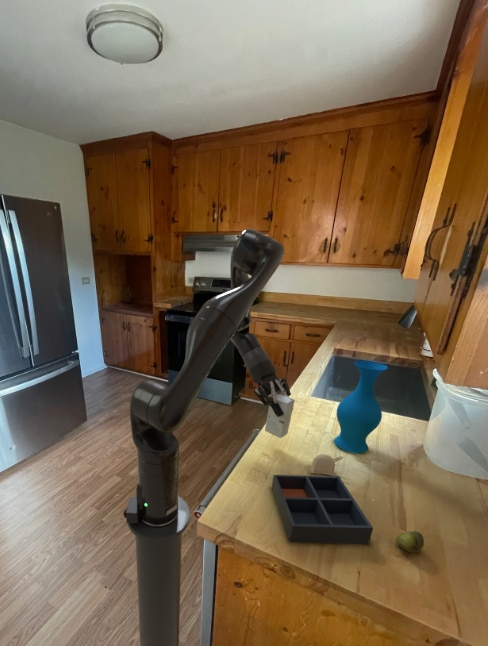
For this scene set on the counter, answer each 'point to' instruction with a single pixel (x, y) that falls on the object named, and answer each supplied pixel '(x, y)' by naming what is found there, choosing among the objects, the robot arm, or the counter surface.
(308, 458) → the counter surface
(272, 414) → the cosmetic box
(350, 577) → the counter surface
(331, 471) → the decorative ornament
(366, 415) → the vase
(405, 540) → the lime
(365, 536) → the grid
